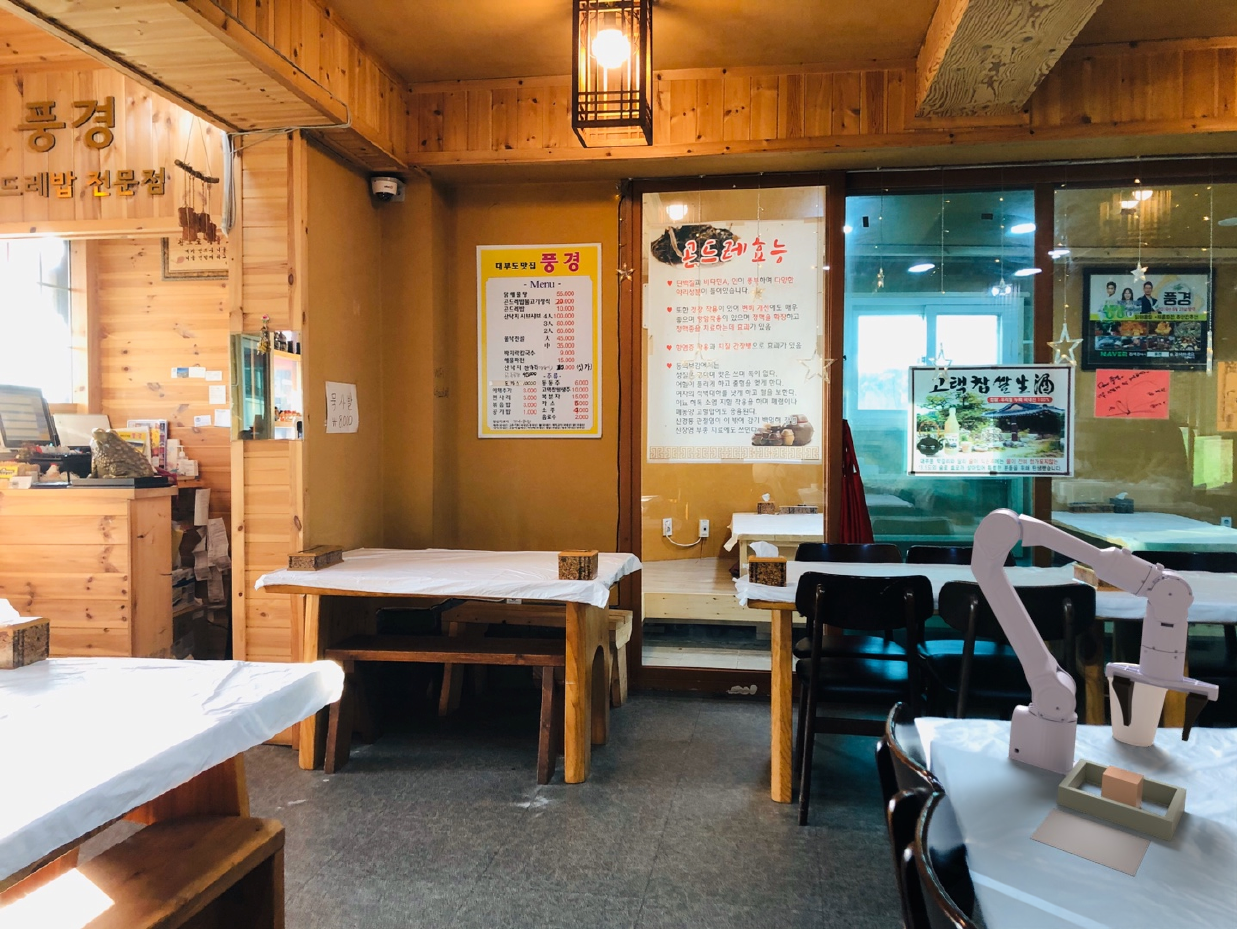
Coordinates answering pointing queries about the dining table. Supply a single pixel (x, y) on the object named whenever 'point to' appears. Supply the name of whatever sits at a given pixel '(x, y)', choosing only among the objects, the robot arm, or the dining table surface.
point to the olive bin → (1119, 811)
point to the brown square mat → (1092, 841)
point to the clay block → (1122, 786)
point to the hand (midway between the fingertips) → (1155, 731)
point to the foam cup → (1138, 713)
